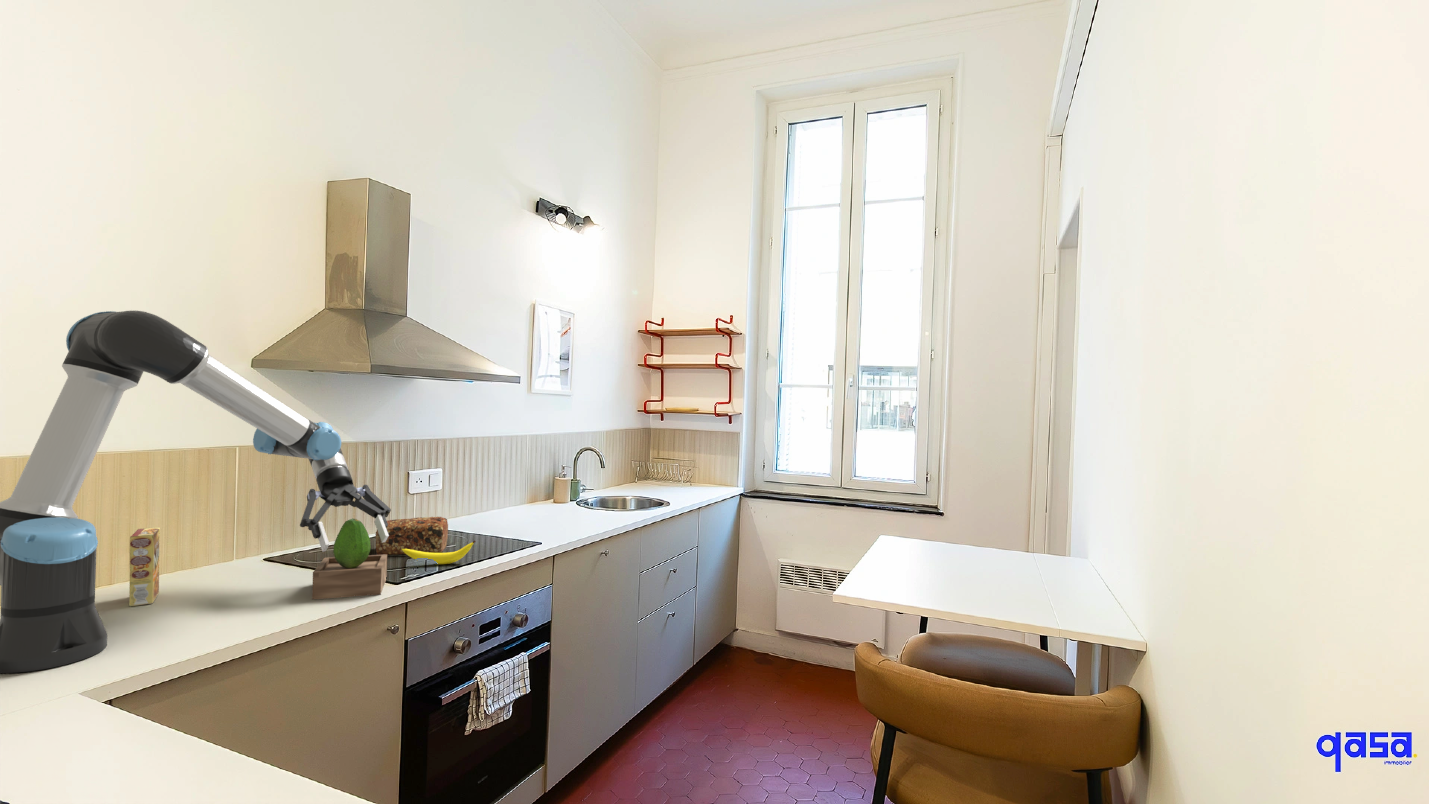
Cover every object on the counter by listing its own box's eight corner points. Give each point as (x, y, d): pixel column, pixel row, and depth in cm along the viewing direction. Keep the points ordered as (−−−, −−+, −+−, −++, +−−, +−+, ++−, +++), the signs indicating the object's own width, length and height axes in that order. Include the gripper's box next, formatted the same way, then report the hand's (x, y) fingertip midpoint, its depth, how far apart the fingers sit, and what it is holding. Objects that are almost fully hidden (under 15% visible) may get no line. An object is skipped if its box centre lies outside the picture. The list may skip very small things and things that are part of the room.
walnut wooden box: (380, 594, 155) (381, 568, 155) (312, 599, 150) (312, 572, 150) (386, 578, 168) (387, 554, 168) (323, 582, 163) (324, 557, 163)
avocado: (345, 573, 153) (346, 522, 153) (326, 568, 157) (327, 518, 157) (377, 566, 160) (378, 517, 160) (358, 561, 164) (359, 514, 164)
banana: (401, 565, 180) (402, 542, 180) (474, 561, 187) (475, 539, 187) (400, 568, 178) (401, 545, 178) (475, 564, 184) (475, 541, 184)
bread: (448, 546, 204) (449, 514, 204) (441, 554, 194) (442, 521, 194) (383, 547, 200) (384, 515, 200) (373, 556, 190) (374, 521, 190)
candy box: (153, 604, 143) (154, 534, 143) (127, 607, 141) (129, 536, 141) (159, 593, 151) (161, 526, 150) (135, 596, 148) (136, 528, 148)
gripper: (377, 480, 178) (402, 544, 169) (271, 488, 158) (293, 561, 149) (387, 462, 175) (413, 527, 165) (280, 468, 155) (303, 542, 146)
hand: (356, 543), depth 157 cm, fingers open, 13 cm apart
